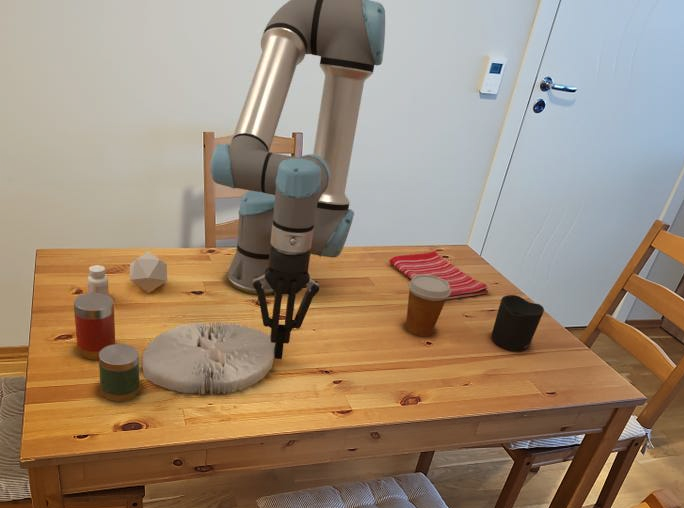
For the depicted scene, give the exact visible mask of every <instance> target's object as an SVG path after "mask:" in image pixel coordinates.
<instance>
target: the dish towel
mask: <svg viewBox="0 0 684 508" xmlns="http://www.w3.org/2000/svg"><path fill="white" fill-rule="evenodd" d="M389 264H390V265H391V266H393V267H394V268H395V269H396V270H398V272H400V273H402V274H403V275H404V276H406V277H407V278H408V279H409V280H410V281H411V280H412V278H413V277H414V276H416V275H431V276H436V277H439V278H441V279H443V280H445V281H446V282H448V284H449V285H450V291H451V293H450V295H449V296H448V298H447V299H446V301H447V300H453V299H460V298H461V299H462V298H467V297H475V296H479V295H480V296H481V295H486V294H488V293H489V290H487V289H488V285H487V283H484V282H482V281H480V280H477V279H475V278H474V277H472V276H470V275H469V274H467V273H465V272H463V271H462V270H460V269H459V268H457V266H455V265H454V264H452V263H451V262H448V261H447V260H446V259H445V258H444V257H442V256H440V255H439V254H438V252H436V251H430V252H426V253H425V252H424V253H414V254H403V255H401V254H400V255H396V256H393V257H391V258H390V259H389Z"/></svg>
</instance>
